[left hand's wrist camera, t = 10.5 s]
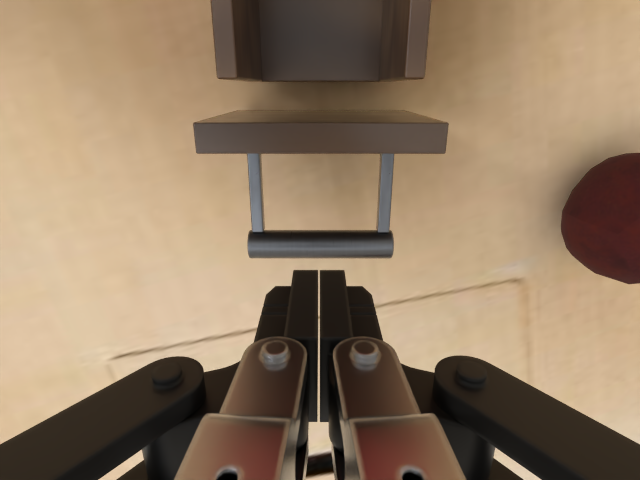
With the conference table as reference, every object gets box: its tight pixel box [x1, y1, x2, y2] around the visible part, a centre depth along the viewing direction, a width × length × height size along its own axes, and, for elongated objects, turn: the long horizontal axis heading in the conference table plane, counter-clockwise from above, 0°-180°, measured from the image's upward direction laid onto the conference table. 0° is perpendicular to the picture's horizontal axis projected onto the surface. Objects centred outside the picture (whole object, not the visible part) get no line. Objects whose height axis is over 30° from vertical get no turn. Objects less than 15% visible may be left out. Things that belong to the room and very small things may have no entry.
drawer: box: [193, 0, 448, 258], centre depth 19 cm, size 22×10×9 cm, turn 0°
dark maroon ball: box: [561, 153, 640, 284], centre depth 24 cm, size 7×8×7 cm
